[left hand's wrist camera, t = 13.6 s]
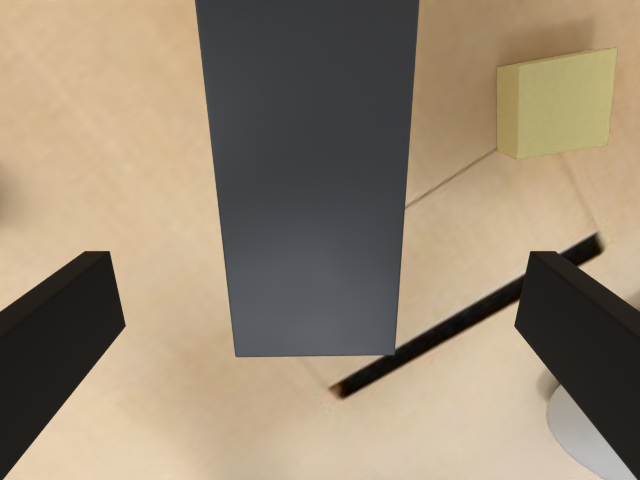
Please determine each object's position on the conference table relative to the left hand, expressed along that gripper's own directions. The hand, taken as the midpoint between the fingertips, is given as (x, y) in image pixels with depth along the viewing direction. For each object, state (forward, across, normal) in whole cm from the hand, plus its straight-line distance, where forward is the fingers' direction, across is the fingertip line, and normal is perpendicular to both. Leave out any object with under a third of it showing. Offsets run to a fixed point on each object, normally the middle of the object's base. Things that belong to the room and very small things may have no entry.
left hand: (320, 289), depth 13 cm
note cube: (+24, -19, -4) cm, 31 cm away
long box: (+10, 0, -10) cm, 14 cm away
